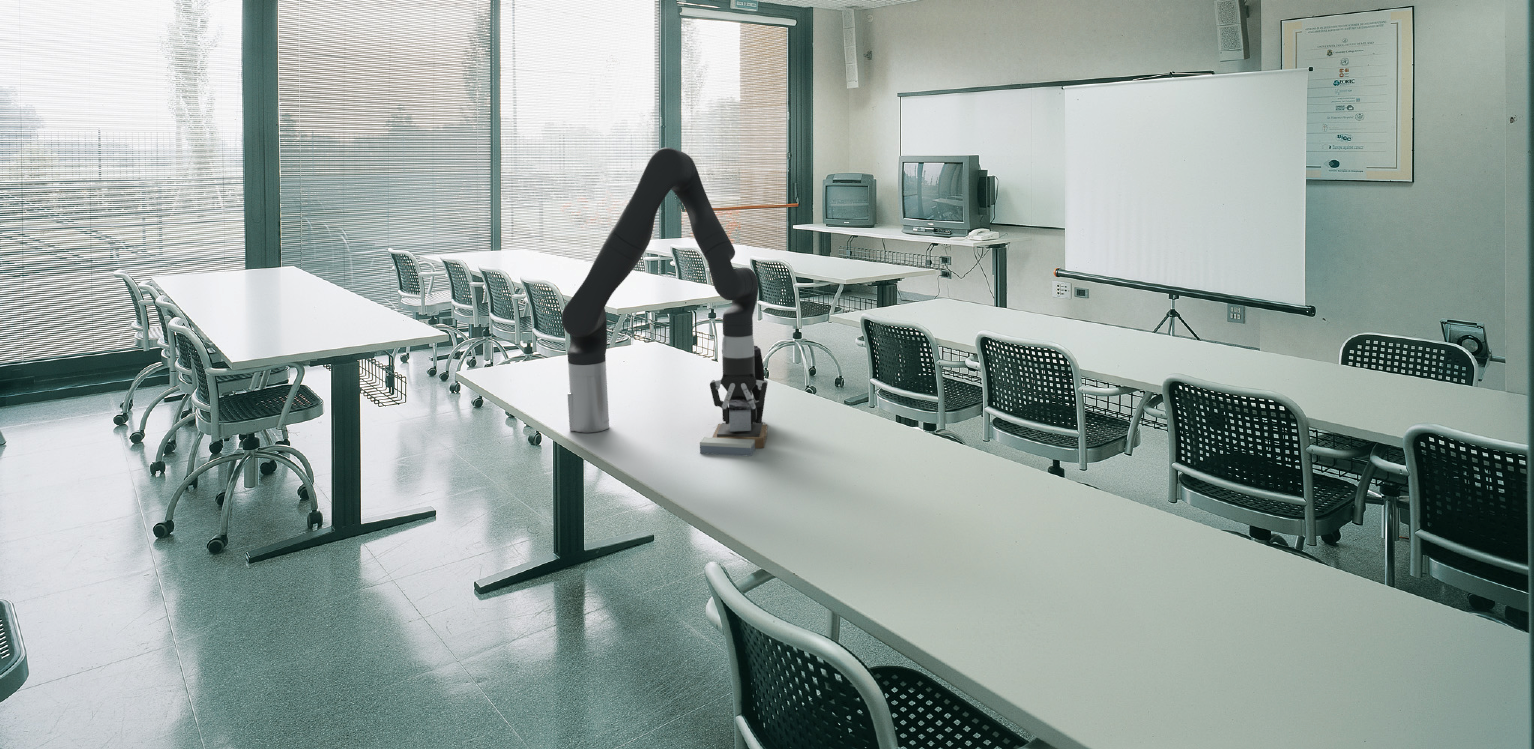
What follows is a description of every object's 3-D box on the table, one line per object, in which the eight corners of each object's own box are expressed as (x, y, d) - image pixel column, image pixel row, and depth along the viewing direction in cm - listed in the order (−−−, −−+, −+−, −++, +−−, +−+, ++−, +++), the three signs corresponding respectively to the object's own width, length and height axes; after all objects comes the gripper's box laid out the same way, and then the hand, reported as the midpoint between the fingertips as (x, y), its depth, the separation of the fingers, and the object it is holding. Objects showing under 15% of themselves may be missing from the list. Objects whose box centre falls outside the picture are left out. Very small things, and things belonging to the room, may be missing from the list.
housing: (728, 419, 232) (728, 400, 231) (749, 419, 232) (749, 399, 231) (729, 431, 222) (729, 410, 221) (751, 430, 223) (750, 410, 222)
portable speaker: (766, 426, 240) (765, 350, 236) (729, 427, 239) (727, 351, 235) (763, 417, 248) (762, 343, 244) (727, 418, 248) (725, 344, 243)
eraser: (700, 454, 219) (699, 442, 218) (704, 449, 223) (704, 437, 222) (751, 457, 216) (750, 444, 216) (754, 452, 220) (754, 439, 220)
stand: (712, 447, 223) (711, 435, 222) (718, 433, 234) (718, 421, 234) (763, 448, 222) (763, 435, 221) (767, 433, 234) (767, 421, 233)
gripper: (769, 350, 227) (770, 419, 230) (710, 350, 228) (711, 418, 231) (767, 356, 219) (768, 427, 223) (705, 356, 220) (707, 427, 224)
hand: (739, 422), depth 227 cm, fingers closed on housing, 5 cm apart
